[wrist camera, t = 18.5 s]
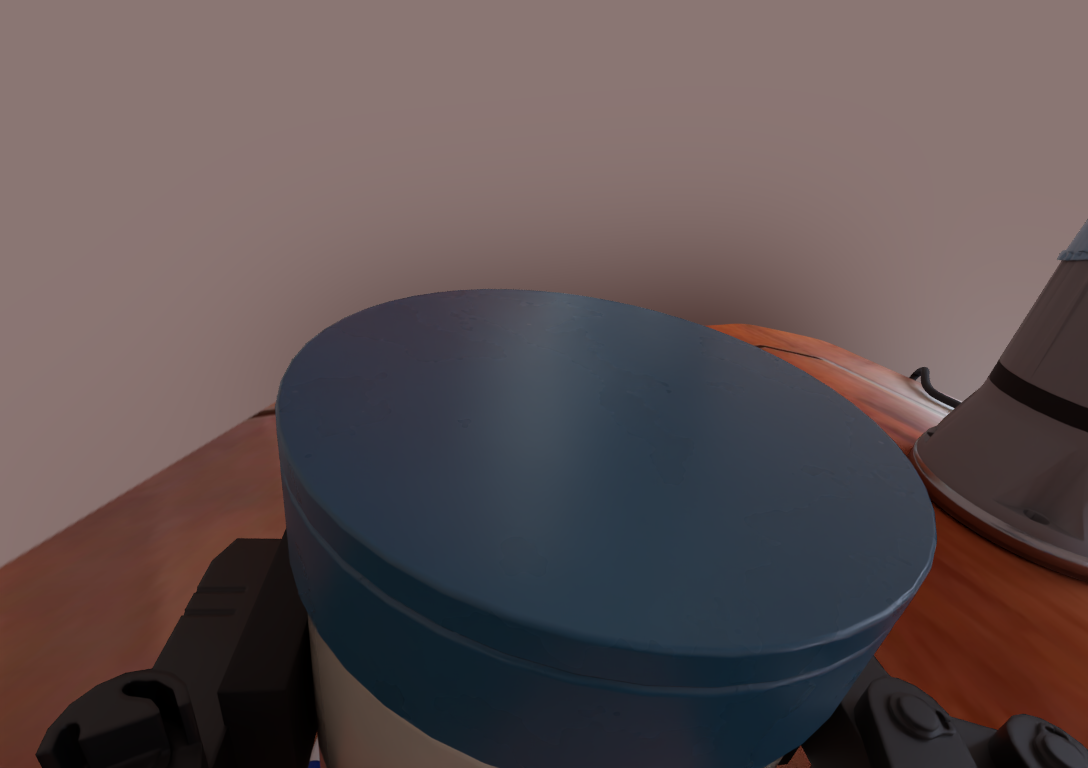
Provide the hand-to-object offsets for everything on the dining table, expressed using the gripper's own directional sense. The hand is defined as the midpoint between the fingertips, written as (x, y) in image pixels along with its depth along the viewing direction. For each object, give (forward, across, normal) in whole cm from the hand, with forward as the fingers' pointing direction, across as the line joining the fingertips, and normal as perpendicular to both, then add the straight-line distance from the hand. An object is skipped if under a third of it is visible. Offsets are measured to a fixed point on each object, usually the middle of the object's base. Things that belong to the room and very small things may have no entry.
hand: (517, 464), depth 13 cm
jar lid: (-5, 0, +5) cm, 7 cm away
